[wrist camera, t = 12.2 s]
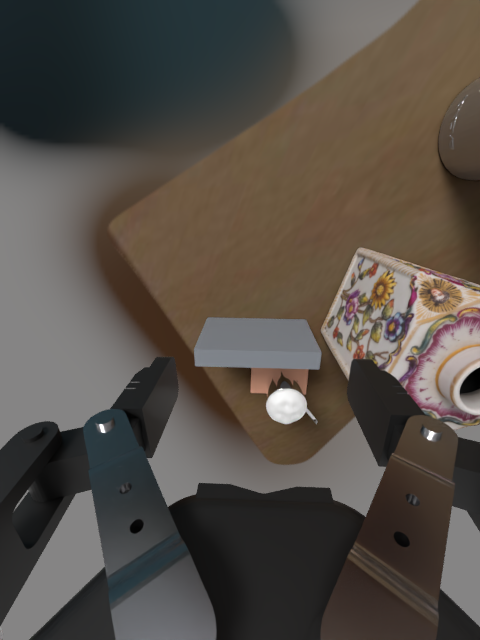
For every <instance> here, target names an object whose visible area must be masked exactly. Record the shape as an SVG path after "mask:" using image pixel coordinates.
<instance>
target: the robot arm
mask: <svg viewBox="0 0 480 640" xmlns="http://www.w3.org/2000/svg"><path fill="white" fill-rule="evenodd" d="M438 142H439V153H440V156H441V160H442V162H443V164H444V165H445V167H446V168H447V169H448V170H449V171H450V172H451V173H452V174H453V175H455V176H457V177H458V178H461V179H465V180H480V78H478V79H476V80H475V81H474V82H472V83H471V84H469V85H468V86H467V87H466V88H465V89H464V90H463V91H462V92H461V93H460V94H459V95H458V96H457V97H456V98H455V100H454V101H453V102H452V104H451V105H450V107H449V109H448V110H447V112H446V114H445V116H444V119H443V122H442V125H441V128H440V133H439V140H438ZM347 395H348V401H349V403H350V406H351V408H352V410H353V412H354V414H355V416H356V418H357V421H358V423H359V425H360V427H361V429H362V431H363V433H364V436H365V437H366V440H367V442H368V444H369V446H370V448H371V450H372V453H373V455H374V457H375V459H376V461H377V463H378V466H384V467H386V469H385V471H384V474H383V476H382V478H381V481H380V483H379V486H378V488H377V490H376V493H375V495H374V498H373V500H372V503H371V505H370V507H369V510H368V512H367V515H366V517H365V516H364V515H362V514H360V513H359V512H358V511H356V510H355V509H353V508H351V507H349V506H347V505H345V504H343V503H340V502H338V501H335V500H333V498H332V494H331V490H330V488H315V487H294V488H289V489H285V490H280V491H275V492H271V493H266V494H262V493H258V492H254V491H251V490H248V489H245V488H241V487H237V486H234V485H231V484H210V483H199V484H198V489H197V493H196V495H192V496H189V497H186V498H183V499H181V500H179V501H177V502H175V503H174V504H172V505H170V506H169V507H168V506H167V504H166V502H165V499H164V497H163V495H162V492H161V490H160V487H159V485H158V483H157V480H156V478H155V476H154V473H153V471H152V469H151V466H150V464H149V461H148V459H147V458H152V457H153V455H154V452H155V450H156V448H157V445H158V443H159V440H160V438H161V436H162V433H163V431H164V428H165V426H166V423H167V421H168V419H169V416H170V414H171V412H172V409H173V407H174V404H175V402H176V400H177V397H178V379H177V372H176V364H175V359H174V357H156V358H155V360H154V361H153V363H152V364H151V366H150V367H146V368H143V369H142V370H141V371H139V372H138V373H137V374H135V375H134V377H133V378H132V380H131V381H130V383H129V384H128V385H127V386H126V389H124V391H123V392H122V393H121V395H120V396H119V397H118V399H117V400H116V402H115V403H114V404H113V406H112V407H111V409H108V410H104V411H101V412H99V413H97V414H95V415H94V416H92V417H91V418H90V419H89V420H88V421H87V422H86V423H85V425H84V427H82V428H77V429H72V430H67V431H62V432H60V431H59V428H58V425H57V424H55V423H54V422H50V421H49V422H48V421H47V422H39V423H36V424H33V425H31V426H28V427H26V428H24V429H23V430H21V431H20V432H18V433H17V434H16V435H15V436H13V437H12V438H11V439H10V441H8V442H7V444H6V445H5V446H4V447H3V448H2V449H1V450H0V626H1V624H2V622H3V620H4V619H5V617H6V615H7V613H8V612H9V610H10V608H11V606H12V605H13V603H14V601H15V599H16V598H17V596H18V594H19V592H20V591H21V589H22V587H23V585H24V584H25V582H26V580H27V578H28V576H29V575H30V573H31V571H32V570H33V568H34V566H35V564H36V563H37V561H38V559H39V557H40V555H41V554H42V552H43V550H44V549H45V547H46V545H47V543H48V542H49V540H50V538H51V536H52V534H53V533H54V531H55V529H56V528H57V526H58V524H59V522H60V520H61V519H62V517H63V515H64V513H65V512H66V510H67V508H68V507H69V505H70V503H71V501H72V499H73V498H74V496H75V494H76V493H80V492H84V491H87V490H92V495H93V501H94V507H95V513H96V518H97V524H98V530H99V535H100V541H101V547H102V552H103V558H104V563H105V567H104V568H103V569H102V570H101V571H100V572H99V573H98V574H97V575H96V576H95V577H94V578H92V580H90V582H88V583H87V584H86V585H85V586H84V587H83V588H82V589H81V590H80V591H79V592H78V593H77V594H76V595H75V596H74V597H73V598H72V599H71V600H70V601H69V602H68V603H67V604H66V605H65V606H64V607H63V608H61V609H60V610H59V612H57V613H56V615H54V616H53V617H52V618H51V619H50V620H49V621H48V622H47V623H46V624H45V625H44V626H43V627H42V628H41V629H40V630H39V631H38V632H37V633H36V634H34V636H32V637H31V638H30V639H29V640H480V627H479V626H478V625H477V624H476V623H475V622H474V621H473V620H472V619H471V618H470V617H469V616H468V615H467V614H466V613H465V612H464V611H463V610H462V609H461V608H460V607H459V606H458V605H456V603H455V602H454V601H453V600H452V599H451V598H449V597H448V596H447V595H446V594H445V593H444V592H443V591H442V590H441V589H440V585H441V579H442V572H443V565H444V557H445V551H446V544H447V538H448V531H449V524H450V517H451V510H452V506H454V507H458V508H460V509H464V510H467V512H468V514H469V515H470V517H471V518H472V520H473V522H474V523H475V525H476V526H477V528H478V530H479V531H480V442H476V441H472V440H467V439H463V438H460V437H458V436H457V434H456V433H455V431H454V430H453V429H452V428H451V427H450V426H448V425H447V424H445V423H444V422H442V421H440V420H438V419H435V418H433V417H429V416H426V415H425V413H424V412H423V411H422V410H421V408H420V407H419V406H418V405H417V403H416V402H415V401H414V400H413V399H412V397H411V396H410V395H409V394H408V393H407V391H406V390H405V389H404V387H402V385H401V384H400V382H399V381H398V380H397V379H396V377H394V376H393V375H391V374H390V373H388V372H387V371H385V370H380V369H379V368H378V367H377V365H376V364H375V363H374V361H373V360H372V359H353V360H352V362H351V367H350V374H349V381H348V387H347ZM27 490H29V492H28V493H27V495H26V496H25V498H24V499H23V500H22V502H21V503H20V504H19V506H18V507H17V508H16V510H15V511H14V509H15V507H16V505H17V503H18V502H19V501H20V499H21V498H22V497H23V495H24V494H25V493H26V491H27ZM0 640H3V632H2V629H1V627H0Z"/></svg>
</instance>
